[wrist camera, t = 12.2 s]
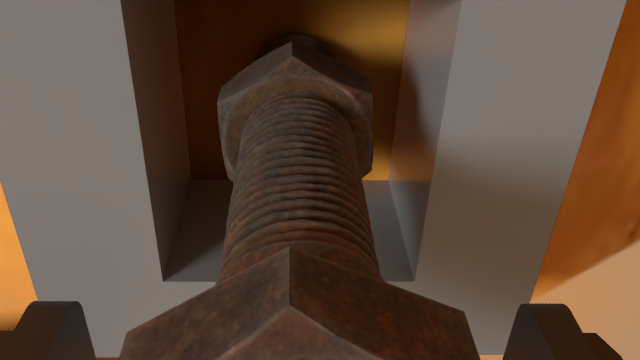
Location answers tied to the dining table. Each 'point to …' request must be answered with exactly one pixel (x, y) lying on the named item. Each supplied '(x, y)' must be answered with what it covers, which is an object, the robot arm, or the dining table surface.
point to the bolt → (300, 232)
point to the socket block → (215, 195)
